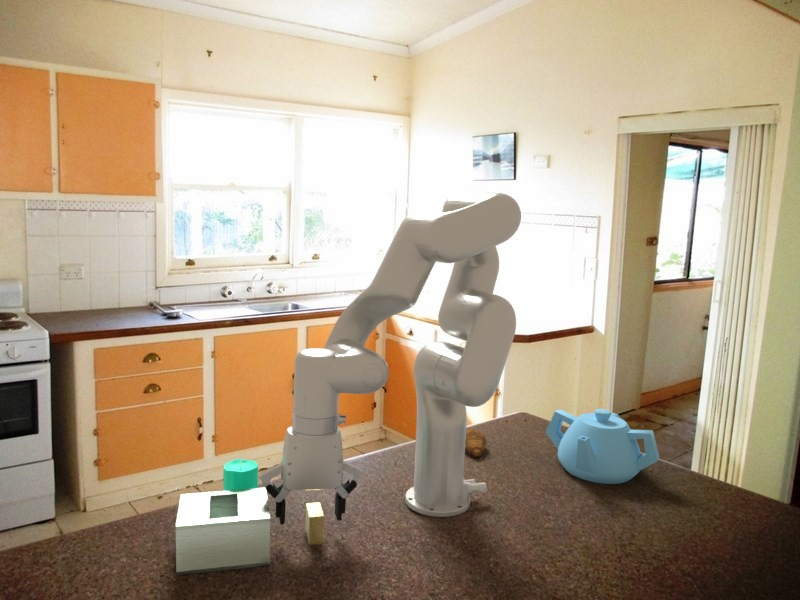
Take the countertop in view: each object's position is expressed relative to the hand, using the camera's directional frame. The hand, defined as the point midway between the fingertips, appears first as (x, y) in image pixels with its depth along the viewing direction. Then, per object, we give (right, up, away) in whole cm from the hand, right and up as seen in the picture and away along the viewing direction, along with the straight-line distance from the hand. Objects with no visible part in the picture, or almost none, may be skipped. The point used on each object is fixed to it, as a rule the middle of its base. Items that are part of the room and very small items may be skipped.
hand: (310, 518), depth 110 cm
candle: (-13, -2, +5) cm, 14 cm away
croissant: (+33, +2, +43) cm, 54 cm away
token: (+1, -3, +1) cm, 4 cm away
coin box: (-13, -4, -5) cm, 15 cm away
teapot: (+59, -1, +33) cm, 68 cm away
